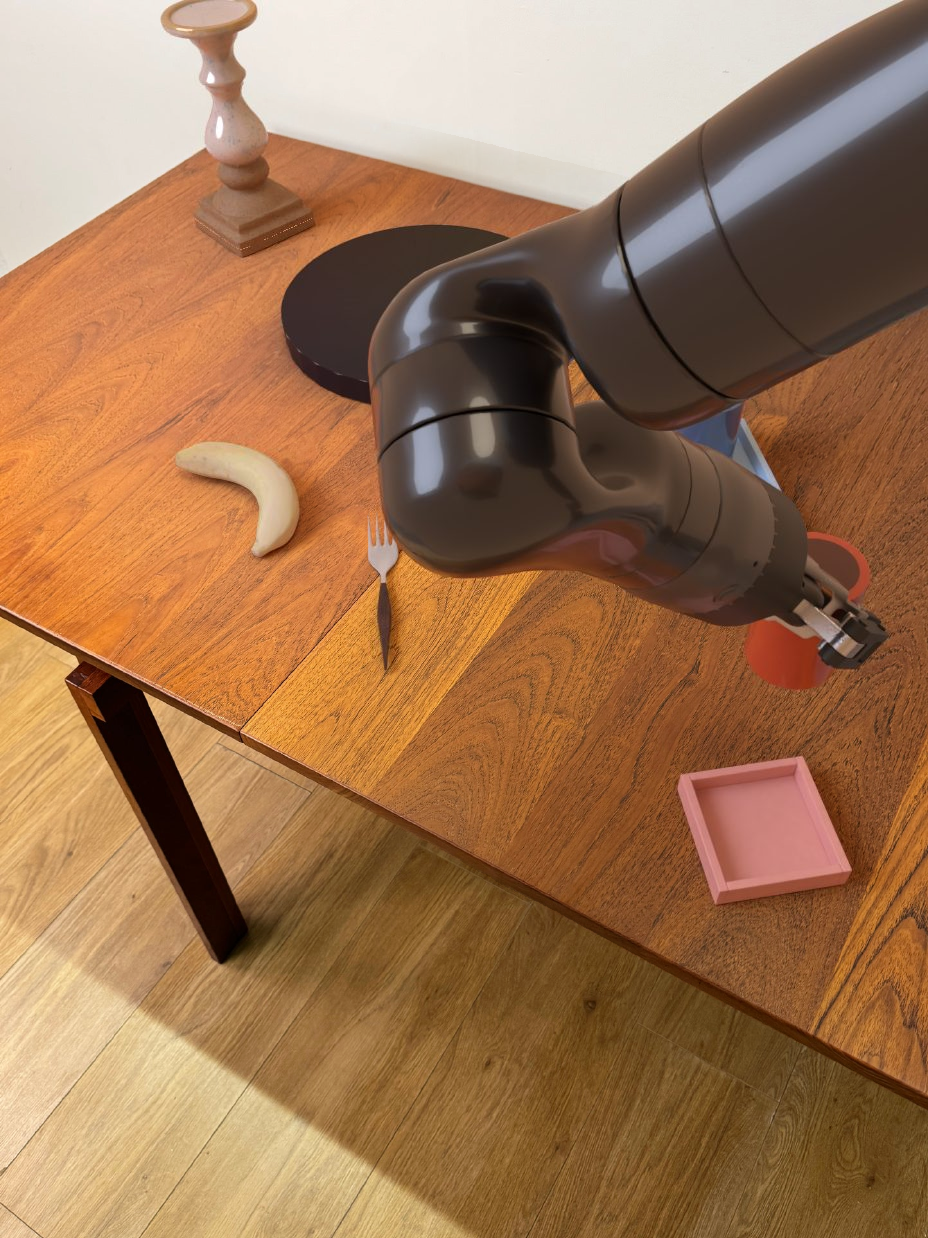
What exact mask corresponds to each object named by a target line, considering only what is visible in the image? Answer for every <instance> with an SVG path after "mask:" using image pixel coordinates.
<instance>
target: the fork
mask: <svg viewBox="0 0 928 1238" xmlns="http://www.w3.org/2000/svg"><path fill="white" fill-rule="evenodd" d="M383 527H384V528H383V538H384V539H383V540H384V542H383V545H382V543H381V536H380V535H381V534H380V528H379V521H378V514H375V541H376V542H375V545H374V543H373V537H372V530H371V521H370V515H367V559H368V562H369V564H370V565H371V566H372V568H374V569H375V571H377V573H379V575H380V585H379V591H378V592H379V593H378V600H377V601H378V602H377V611H376V616H377V617H376V618H377V625H378V631H379V632H378V633H379V638H380V639H379V640H380V646H381V653H382V661H383V670H384V671H387V670H388V660H389V648H390V647H389V646H390V637H391V628H392V608H391V602H390V596H389V591H388V590H389V589H388V584H387V575H388V573H389V571H390V570H392V569H393V567H394V566H395V565H396V563H397V561H398V559H399V546H398V545H397V544H396V542H395V541H394V539H393V538H392V543H391V544H390V542H389V541H390V540H389V532H388V529H387V526H386V524H385V521H384V520H383Z"/></svg>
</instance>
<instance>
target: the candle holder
mask: <svg viewBox="0 0 928 1238" xmlns="http://www.w3.org/2000/svg"><path fill="white" fill-rule="evenodd" d="M258 15H259V13H258V6H257V4H256V3H255V2H254V1H253V0H180V1H177V2H175V3H173V4H171V5H170V6H168V7H167V8H165V9H164V10H163V12H162V13H161V15H160V24H161V27H162V29H163V30H164V31H165V32H166V33H167V34H169V35H170V36H173V37H176V38H179V39H185V40H186V39H187V40H189V41H190V43H191V44H192V45H194V46H195V47H196V48H197V50H198V51H199V53H200V55H201V59H202V64H201V65H202V66H201V68H200V69H201V70H200V71H199V74H198V80H199V83H200V84H201V85H203V86H204V87H205V89H206V91H207V92H209V94H210V96H211V99H212V103H211V110H210V114H209V117H208V119H207V123H206V124H205V125H206V126H205V128H204V129H205V130H204V136H203V137H204V139H203V140H204V145H205V149H206V151H207V152H208V154H209V155H210V156H211V157H212V158H213V159H215V160H216V161H217V162H219V163H218V166H217V169H216V171H217V172H216V173H217V177H218V180H219V181H220V182H221V184H222V185H221V186H220V187H219V188H218V189H217V190H216V191H214V192H211V193H208V194H206V195H204V196H203V197H201V198H200V199H199V200H198V201H197V202H198V205H199V207H198V208H196V209H195V210H194V211H192V214H193V218H194V217H195V218H196V219H197V220H199V222H201V223H203V225H205V226H206V227H208V228H209V229H211V230H212V231H214V232H215V233H216V234H218V235H219V236H220V237H219V236H218V235H216V234H215V233H213V232H212V231H210V230H209V229H208V228H206V227H205V226H203V225H202V224H200V223H199V222H198V221H196V220H195V218H194V221H195V226H196V227H197V228H198V229H199V230H200V231H202V232H203V233H205V234H206V235H208V236H209V237H210V238H212V239H213V240H215V241H216V242H217V243H219V244H220V245H222V246H223V247H224V248H226V249H227V250H229V251H231V252H232V253H234V254H235V255H237V256H239V257H241V258H244V257H247V256H250V255H252V254H255V253H257V252H260V251H262V250H263V249H266V248H268V247H271V246H272V245H274V244H277V243H279V242H282V241H283V240H285V239H288V238H290V237H293V236H294V235H297V234H299V233H301V232H303V231H305V230H308V229H309V228H311V227H314V226H315V224H316V223H315V217H314V213H313V210H312V209H311V208H310V207H309V206H307V205H306V204H304V201H303V199H302V198H301V197H300V196H299V195H298V194H296V193H295V192H293V191H292V190H290V189H289V188H287V187H286V186H284V185H283V184H281V183H279V182H277V181H276V180H274V179H273V178H270V177H269V175H270V165H269V163H268V161H267V159H265V157H264V156H262V155H263V154H264V153H265V152H266V150H267V148H268V146H269V145H268V144H269V134H268V133H269V132H268V130H267V128H266V126H265V124H264V122H263V121H262V120H261V118H260V117H259V116H258V115H257V113H256V112H255V111H254V110H253V109H252V108H251V106H250V105H249V104H248V103H247V101H246V100H245V98H244V97H243V93H242V90H243V86H244V80H245V79H246V77H247V71H246V69H245V67H244V66H242V65H241V63H240V62H239V61H238V60H237V57H236V55H235V50H234V49H235V48H234V47H235V42H236V40H237V38H238V35H239V32H243V30H245V29H248V28H249V27H251V26H252V25H253V24H254V23H255V22H256V20H257V18H258ZM311 218H312V219H311ZM309 219H310V220H309ZM307 220H308V221H307ZM305 221H306V222H305ZM303 222H304V223H303ZM300 223H301V224H300ZM295 225H297V226H295ZM294 226H295V227H294ZM291 227H293V228H291ZM289 228H290V229H289ZM286 229H288V230H286ZM284 230H286V231H284ZM283 231H284V232H283ZM280 232H281V233H280ZM276 234H277V235H276ZM274 235H275V236H274ZM272 236H273V237H272ZM222 238H223V239H222ZM267 238H268V239H267ZM224 239H225V240H226V241H228V242H229V243H230V244H229V243H228V242H226V241H225V240H224ZM264 239H266V240H264ZM231 244H232V245H234V246H235V247H234V246H232V245H231ZM249 246H250V247H249ZM236 247H237V248H239V249H237V248H236ZM246 247H248V248H246ZM243 248H245V249H243ZM240 249H242V250H240Z"/></svg>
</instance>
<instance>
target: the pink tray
mask: <svg viewBox="0 0 928 1238" xmlns="http://www.w3.org/2000/svg"><path fill="white" fill-rule="evenodd" d="M676 788H677V789H676V790H677V792H678V793H677V794H678V795H679V799H680V802H681V805H682V807H683V811H684V814H685V818H686V820H687V823H688V827H689V829H690V833H691V836H692V839H693V842H694V845H695V848H696V851H697V854H698V857H699V859H700V863H701V866H702V869H703V872H704V875H705V878H706V881H707V884H708V887H709V890H710V894H711V897H712V900H713V903H714V905H716V906H717V905H722V904H729V903H730V904H731V903H736V902H742V901H748V900H754V899H760V898H766V897H773V896H779V895H785V894H792V893H797V892H802V891H804V892H805V891H809V890H816V889H817V890H818V889H822V888H828V887H833V886H834V887H835V886H841V885H845V884H846V883H847V881H848V879H849V878H850V875H851V874H852V872H853V869H852V866H851V864H850V862H849V860H848V857H847V854H846V853H845V851H844V848H843V846H842V844H841V841H840V839H839V837H838V834H837V832H836V829H835V827H834V825H833V823H832V820H831V818H830V816H829V813H828V811H827V809H826V807H825V804H824V801H823V800H822V797H821V795H820V791H819V790H818V788H817V785H816V783H815V781H814V779H813V776H812V774H811V771H810V769H809V767H808V765H807V762H806V759H805V757H804V756H803V755H800V756H792V757H786V758H780V759H779V758H778V759H773V760H767V761H761V762H753V763H747V764H740V765H735V766H728V767H722V768H714V769H708V770H703V771H695V772H694V771H693V772H689V773H681V774H680V775H679V779H678V785H677V787H676Z"/></svg>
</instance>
